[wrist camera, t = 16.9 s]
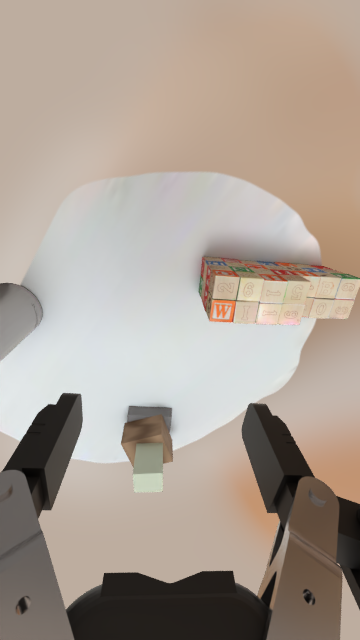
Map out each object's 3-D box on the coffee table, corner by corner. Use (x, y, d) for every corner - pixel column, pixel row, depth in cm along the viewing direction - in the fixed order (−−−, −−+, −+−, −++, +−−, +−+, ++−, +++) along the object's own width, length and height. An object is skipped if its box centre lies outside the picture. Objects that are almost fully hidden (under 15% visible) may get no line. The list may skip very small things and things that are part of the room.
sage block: (137, 461, 49) (134, 492, 44) (136, 443, 47) (132, 474, 42) (162, 460, 50) (162, 491, 44) (162, 442, 48) (162, 473, 42)
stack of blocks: (324, 264, 43) (381, 285, 31) (313, 299, 45) (362, 329, 34) (201, 256, 41) (215, 275, 30) (197, 292, 43) (208, 322, 32)
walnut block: (137, 448, 55) (134, 470, 51) (124, 423, 52) (121, 443, 47) (172, 440, 55) (172, 461, 50) (161, 414, 51) (161, 434, 47)
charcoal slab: (128, 434, 57) (126, 445, 55) (129, 404, 54) (127, 415, 51) (167, 435, 58) (167, 447, 55) (171, 406, 54) (171, 416, 52)
